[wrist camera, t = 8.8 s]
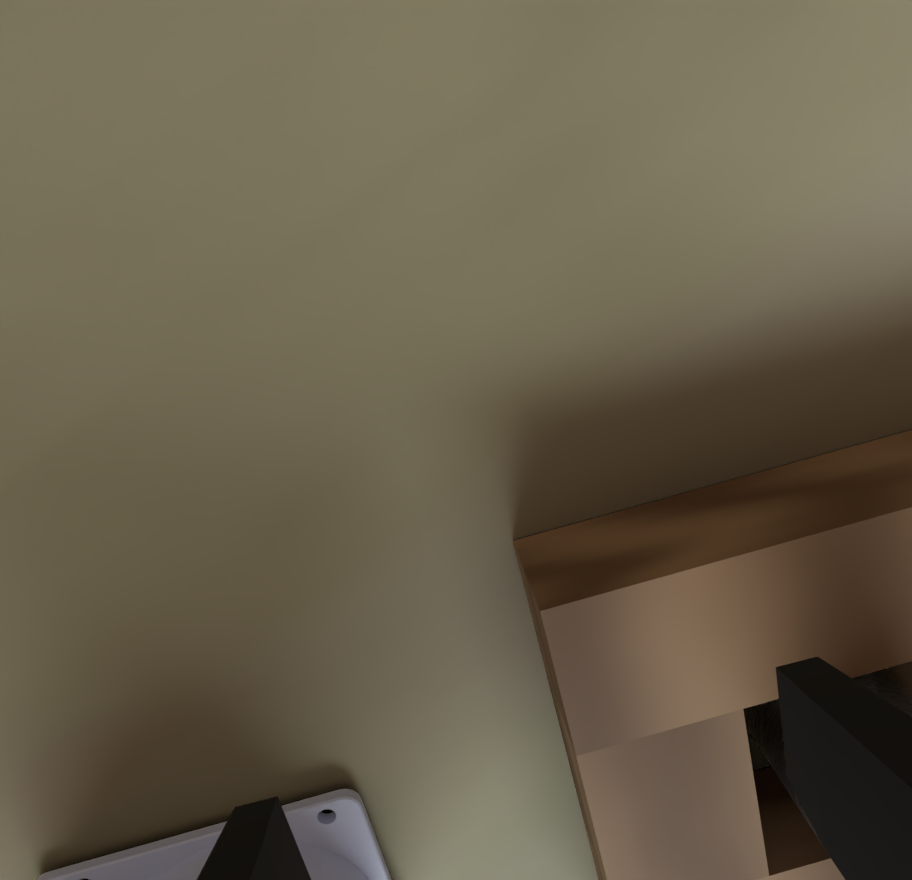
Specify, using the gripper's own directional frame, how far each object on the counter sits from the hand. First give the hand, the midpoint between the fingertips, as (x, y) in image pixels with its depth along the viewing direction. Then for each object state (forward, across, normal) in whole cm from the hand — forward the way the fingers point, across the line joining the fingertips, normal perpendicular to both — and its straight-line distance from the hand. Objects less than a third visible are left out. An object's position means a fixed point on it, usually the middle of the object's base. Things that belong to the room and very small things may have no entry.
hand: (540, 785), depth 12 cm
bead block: (+10, -8, +9) cm, 16 cm away
